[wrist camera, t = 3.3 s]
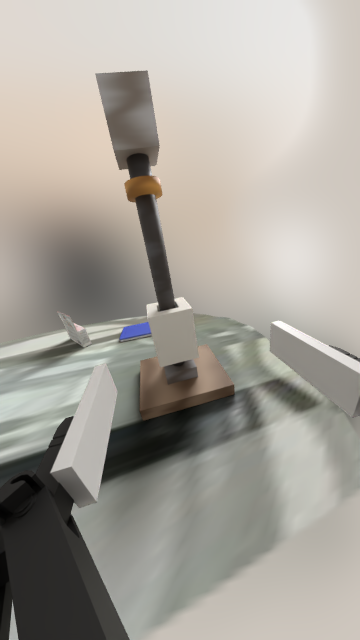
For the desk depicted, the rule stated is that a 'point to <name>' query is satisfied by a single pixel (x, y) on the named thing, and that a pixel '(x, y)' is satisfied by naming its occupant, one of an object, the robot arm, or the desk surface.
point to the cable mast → (154, 244)
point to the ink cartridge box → (75, 331)
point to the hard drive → (135, 332)
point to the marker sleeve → (173, 332)
